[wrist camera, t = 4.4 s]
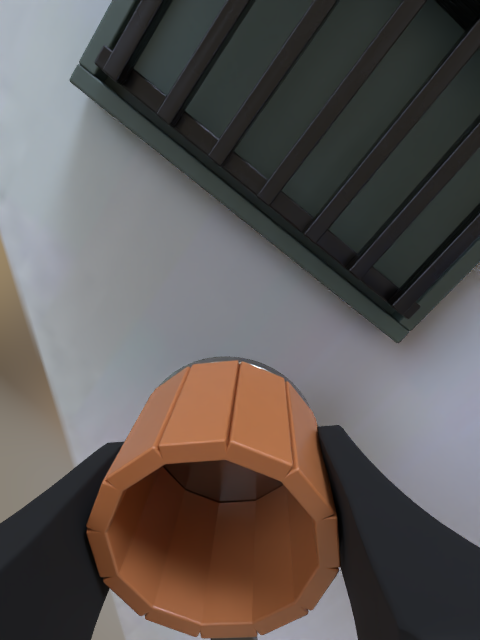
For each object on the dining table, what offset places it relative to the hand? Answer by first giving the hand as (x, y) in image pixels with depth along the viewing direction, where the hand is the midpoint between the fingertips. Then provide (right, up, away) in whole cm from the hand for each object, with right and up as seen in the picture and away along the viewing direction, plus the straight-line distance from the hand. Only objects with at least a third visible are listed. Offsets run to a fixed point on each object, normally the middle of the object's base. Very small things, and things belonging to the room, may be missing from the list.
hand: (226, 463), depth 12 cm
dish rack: (+4, +12, +2) cm, 12 cm away
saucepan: (0, -2, +2) cm, 3 cm away
